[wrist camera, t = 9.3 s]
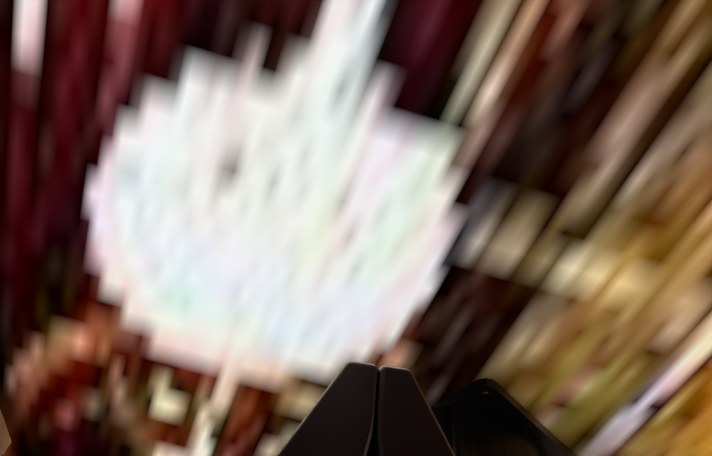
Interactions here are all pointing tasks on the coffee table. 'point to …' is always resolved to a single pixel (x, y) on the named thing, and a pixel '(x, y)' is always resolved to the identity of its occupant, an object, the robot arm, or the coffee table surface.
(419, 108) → the coffee table surface
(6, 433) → the tile
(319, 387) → the coffee table surface
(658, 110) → the coffee table surface
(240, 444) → the coffee table surface
